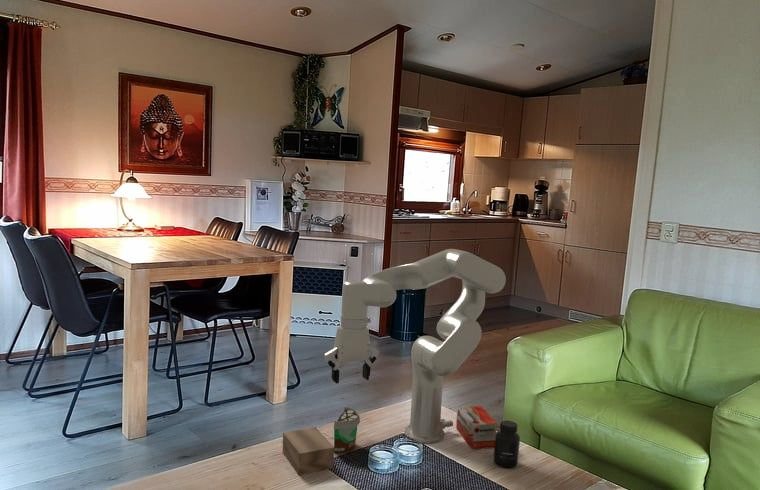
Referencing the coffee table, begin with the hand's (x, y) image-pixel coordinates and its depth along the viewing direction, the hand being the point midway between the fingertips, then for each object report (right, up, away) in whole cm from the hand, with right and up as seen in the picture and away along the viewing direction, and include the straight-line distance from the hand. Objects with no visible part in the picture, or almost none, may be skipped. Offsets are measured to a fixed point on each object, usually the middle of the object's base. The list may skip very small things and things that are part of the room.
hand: (350, 380), depth 167 cm
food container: (-1, -21, +2) cm, 21 cm away
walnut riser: (-12, -21, -7) cm, 25 cm away
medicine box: (+39, -22, +13) cm, 46 cm away
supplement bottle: (+45, -23, -3) cm, 51 cm away
